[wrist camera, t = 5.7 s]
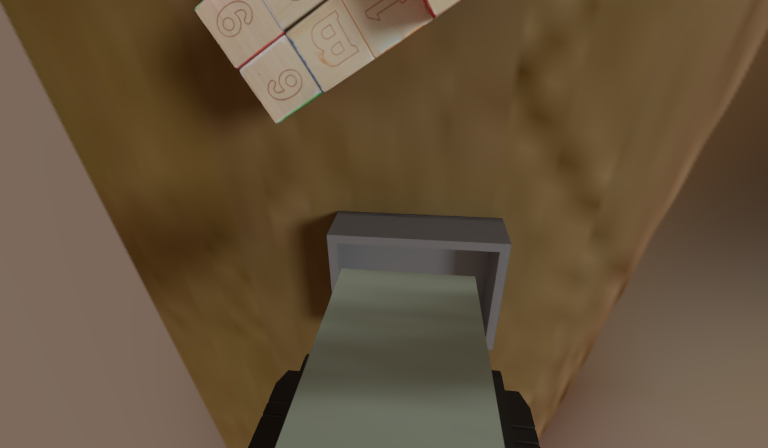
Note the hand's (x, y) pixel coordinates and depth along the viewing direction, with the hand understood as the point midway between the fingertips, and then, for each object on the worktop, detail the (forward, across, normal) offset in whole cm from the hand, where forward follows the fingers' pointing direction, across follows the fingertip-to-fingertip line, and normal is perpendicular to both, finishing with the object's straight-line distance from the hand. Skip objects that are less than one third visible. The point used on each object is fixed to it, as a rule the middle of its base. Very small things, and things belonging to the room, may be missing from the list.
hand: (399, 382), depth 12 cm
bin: (+20, 0, +9) cm, 22 cm away
